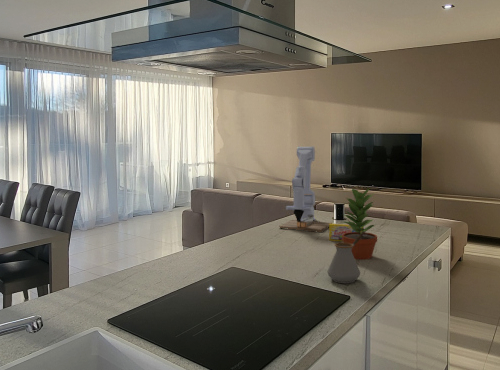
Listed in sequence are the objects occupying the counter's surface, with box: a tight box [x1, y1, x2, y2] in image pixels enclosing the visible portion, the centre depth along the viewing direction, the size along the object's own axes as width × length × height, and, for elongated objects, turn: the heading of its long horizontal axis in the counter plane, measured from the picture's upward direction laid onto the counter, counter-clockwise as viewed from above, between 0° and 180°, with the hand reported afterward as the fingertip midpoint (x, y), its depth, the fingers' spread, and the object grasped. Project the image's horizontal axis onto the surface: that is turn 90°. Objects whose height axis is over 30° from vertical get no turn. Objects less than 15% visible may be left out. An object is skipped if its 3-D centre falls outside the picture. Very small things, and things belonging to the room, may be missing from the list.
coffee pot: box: [327, 231, 368, 284], centre depth 164 cm, size 21×12×15 cm, turn 139°
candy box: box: [328, 223, 365, 242], centre depth 217 cm, size 16×2×8 cm, turn 73°
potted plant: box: [340, 186, 378, 261], centre depth 189 cm, size 15×15×30 cm
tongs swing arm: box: [297, 218, 309, 227], centre depth 250 cm, size 13×2×2 cm, turn 153°
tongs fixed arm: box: [301, 214, 315, 227], centre depth 251 cm, size 17×4×4 cm, turn 153°
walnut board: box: [278, 219, 333, 233], centre depth 251 cm, size 19×24×2 cm
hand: (298, 223), depth 249 cm, fingers closed
